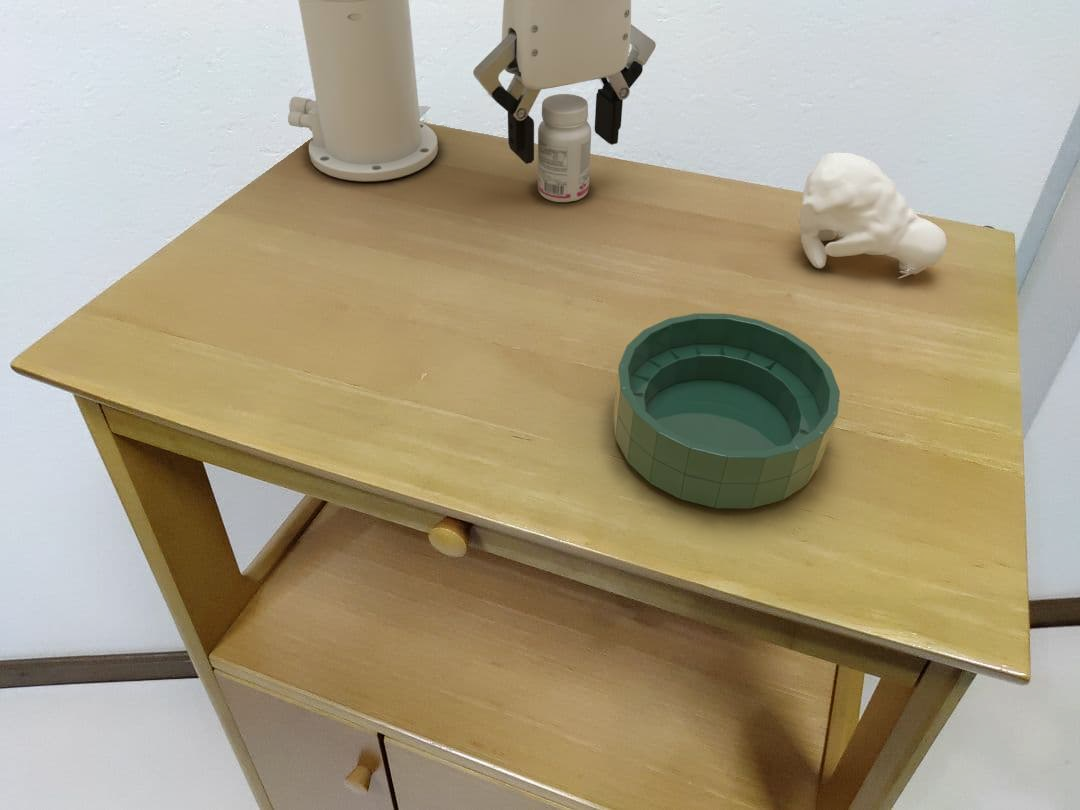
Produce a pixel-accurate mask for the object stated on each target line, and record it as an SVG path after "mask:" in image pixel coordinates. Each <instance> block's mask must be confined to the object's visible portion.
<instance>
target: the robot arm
mask: <svg viewBox="0 0 1080 810" xmlns="http://www.w3.org/2000/svg"><path fill="white" fill-rule="evenodd" d="M298 5H299V6H298V7H299V12H300V17H301V23H302V28H303V34H304V40H305V45H306V51H307V56H308V57H307V58H308V62H309V67H310V73H311V79H312V85H313V90H314V95H315V100H313V99H311V98H306V97H299V96H293V97H291V99H290V101H289V106H288V108H289V113H288V116H287V122H288V124H289V126H291V127H298V128H306V129H307V128H308V129H309V131H310V132H311V134H312V137H311V139H310V141H309V143H308V153H309V158H310V162H311V163H312V164H313V166H314V167H315V168H316V169H317V170H319V171H320V172H321V173H323V174H325V175H328V176H330V177H333V178H336V179H340V180H346V181H351V182H380V181H390V180H393V179H399V178H402V177H406V176H408V175H409V176H410V175H412V174H413V173H416V172H418V171H421V170H422V169H424V168H425V167H427V166H428V165H429V164H431V162H432V161H433V160H435V158H436V156H437V155H438V150H439V145H438V144H439V143H438V136H437V134H436V132H434V130H433V129H432V128H431V127H430V126H429V125H426V124H425V123H423V122H421V116H420V108H419V107H420V106H419V94H418V83H417V74H416V65H415V64H416V63H415V62H416V61H415V55H414V42H413V41H414V40H413V32H412V31H413V30H412V22H411V11H410V0H298ZM502 6H503V8H502V21H501V23H502V24H501V26H502V27H501V41H500V43H498V44H497V45H496V46H495V48H493V49H492V50H491V51H490V53H489V54H487V55H486V56H485V57H484V58H483V60H481V61H480V62H479V63H478V64H477V65H476V66H475V68H474V69H473V72H472V73H473V76H474V78H475V80H476V81H477V82H478V83H479V84H480V86H481V87H482V88H483V89H484V90H485V91H486V94H488V96H489V97H490V98H491V99H492V100H494V102H496V103H497V104H498V105H499V106H500V107H502V108H503V109H504V110H505V111H506V112H507V140H508V147H509V149H510V150H511V152H513V153H514V154H515V155H516V156H517V157H518V158H519V159H520V160H521V161H522V162H523V163H524V164H525V165H528V164H532V163H533V161H535V122H534V119H533V118H532V117H531V116H530V115H529V114H530V112H531V110H532V108H533V106H534V104H535V102H536V100H537V98H538V97H539V94H540V93H541V91H542V90H547V89H553V88H554V89H555V88H558V87H562V86H564V87H565V86H569V85H575V84H579V83H584V82H585V83H586V82H589V81H595V80H599V82H600V84H601V85H602V88H597V92H596V95H595V110H594V111H595V112H594V132H595V134H597V135H598V136H599V137H600V138H601V139H602V140H604V141H605V142H606V143H607V144H609V145H616V144H618V142H619V131H620V129H621V127H622V115H623V104H624V100H626V99H628V97H629V96H630V92H631V90H630V89H631V87H632V86H633V85H634V83H636V82H637V80H638V79H639V78H640V76H641V75H642V73H643V71H644V70H643V69H644V66H646V64H647V62H648V61H649V59H650V57H651V56H652V55H653V53H654V51H655V50H656V46H657V43H656V41H654V39H652V38H651V37H649V36H648V35H647V34H645V33H643V31H641V30H640V29H638V28H637V27H635V26H634V25H633V24H632V0H503V5H502ZM630 46H631V47H630ZM503 71H506V72H507V73H508V74H512V75H513V77H512V79H511V81H510V82H509V85H508V87H507V89H505V87H504V86H503V85H502V83H501V82H500V80H499V76H500V75H501V73H502V72H503Z"/></svg>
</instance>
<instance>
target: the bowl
mask: <svg viewBox="0 0 1080 810" xmlns="http://www.w3.org/2000/svg"><path fill="white" fill-rule="evenodd" d="M617 367H618V368H617V377H616V387H615V398H614V407H613V415H612V417H613V428H614V429H613V430H614V439H615V442H616V443H617V445H618V446H619V449H620V450H621V452H622V454H623V456H624V458H625V459H626V462H627V463H628V464H629V465H630V466H631V467H632V468H633V469H634V470H635V471H636V472H637V473H638V474H640V475H641V477H643V478H644V479H645V480H646V481H647V482H648V483H649V484H651V485H653V486H655V487H656V488H657V489H658V488H659V490H662V491H664V492H665V493H668V494H670V495H671V496H673V497H675V498H677V499H679V500H683V501H687V502H691V503H693V504H698V505H702V506H706V507H709V508H715V509H748V510H749V509H753V508H756V507H761V506H762V507H763V506H765V505H769V504H774V503H777V502H781V501H784V500H785V499H787V498H788V497H790V496H792V495H793V494H794V493H796V492H798V491H799V490H801V489H803V488H804V487H806V485H808V483H809V482H810V480H811V479H812V477H813V476H814V475H815V473H816V471H817V470H818V468H819V467H820V465H821V462H822V459H823V457H824V454H825V452H826V448H827V446H828V443H829V441H830V437H831V434H832V432H833V429H834V426H835V424H836V420H837V417H838V414H839V407H840V397H841V391H840V388H839V385H838V383H837V380H836V377H835V375H834V372H833V370H832V368H831V367H830V366H829V364H828V363H827V362H826V361H825V360H824V359H823V358H822V356H820V354H819V353H818V352H817V350H815V348H813V347H812V346H811V345H809V344H807V343H806V342H805V341H803V340H801V338H799V337H797V336H796V335H795V334H793V333H792V332H790V331H788V330H785V329H782V328H780V327H778V326H775V325H772V324H770V323H768V322H765V321H763V320H760V319H757V318H751V317H746V316H741V315H737V314H736V315H735V314H730V313H703V312H702V313H701V312H700V313H699V312H697V313H691V314H686V315H680V316H679V315H678V316H675V317H669V318H666V319H664V320H662V321H660V322H657V323H656V324H653V325H651V326H648V327H647V328H645V329H643V330H642V331H641V332H640V333H638V335H637V336H636V337H635V338H633V339H632V340H631V341H630V342H629V343H628V344H627V345H626V347H625V349H624V351H623V354H622V356H621V359H620V361H619V364H618V366H617Z"/></svg>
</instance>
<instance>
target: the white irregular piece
mask: <svg viewBox="0 0 1080 810" xmlns="http://www.w3.org/2000/svg"><path fill="white" fill-rule="evenodd" d="M797 217H798V218H797V219H798V220H797V222H798V224H799V230H800V231H799V232H800V233H799V234H800V242H801V245H802V247H803V250H804V253H805V256H806V257H807V259H808V261H810V263H811V265H812V266H813V267H814V268H815V269H823V268H824V267H825V266H826V263H827V258H828V256H830V257H834V258H835V257H836V258H840V257H848V256H849V257H850V256H851V257H852V256H858V255H863V254H865V255H870V256H882V255H883V256H887V257H889V258H894V259H896V260H898V268H899V273H901V274H902V275H901V276H899V277H898V279H901V278H904V277H907V276H909V275H910V276H911V275H914V276H915V275H917V274H919V273H921V272H923V271H925V270H926V269H928V268H929V267H933V266H935V265H937V264H938V263H939V262H940V261H941V260H942V258H943V256H944V255H945V253H946V249H947V237H946V234H945V232H944V231H943V229H942V228H941V227H939V226H938V225H936V224H935V223H933V222H932V221H930V220H928V219H925V218H924V217H923V218H922V217H920V216H918V214H917V213H916V211H915V210H914V209H913V208H911V207H910V205H909V203H908V200H907V198H906V197H905V196H904V195H903V194H902V193H901V192H900V191H899V190H898V188H897V185H896V183H895V182H894V181H893V180H892V179H891V178H890V177H889V176H888V175H887V174H885V172H883V171H882V169H881V168H880V166H879V165H877V164H876V163H875V162H873V161H872V160H870V159H868V158H866V157H863V156H860V155H858V154H854V153H851V152H829V153H826V154H825V155H823V156H821V157H820V158H819V159H818V161H816V163H815V164H814V166H813V167H812V169H811V170H810V172H809V173H808V175H807V178H806V180H805V184H804V189H803V191H802V197H801V206H800V211H799V214H798V216H797ZM837 232H839V237H841V238H840V239H838V240H835V238H836V237H837V234H838V233H837ZM833 240H835V241H833ZM828 241H830V242H828ZM823 242H828V243H826V245H824V243H823Z"/></svg>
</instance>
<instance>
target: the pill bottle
mask: <svg viewBox="0 0 1080 810" xmlns="http://www.w3.org/2000/svg"><path fill="white" fill-rule="evenodd" d="M541 117H542V120H541V122H540V123H539V125H538V128H537V190H538V192H539V194H540V195H541V196H542V197H543V198H544V199H546V200H548V201H551V202H555V203H570V202H576V201H579V200H581V199H583V198H584V197H585V196H586V195H587V194H588V192H589V187H590V169H591V147H592V146H591V145H592V127H591V125H590V123H589V122H588V118H589V103H588V100H587V99H585V98H584V97H582V96H580V95H577V94H571V93H558V94H552V95H549V96H547V97H546V98H544V99H543V100H542V104H541Z"/></svg>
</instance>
